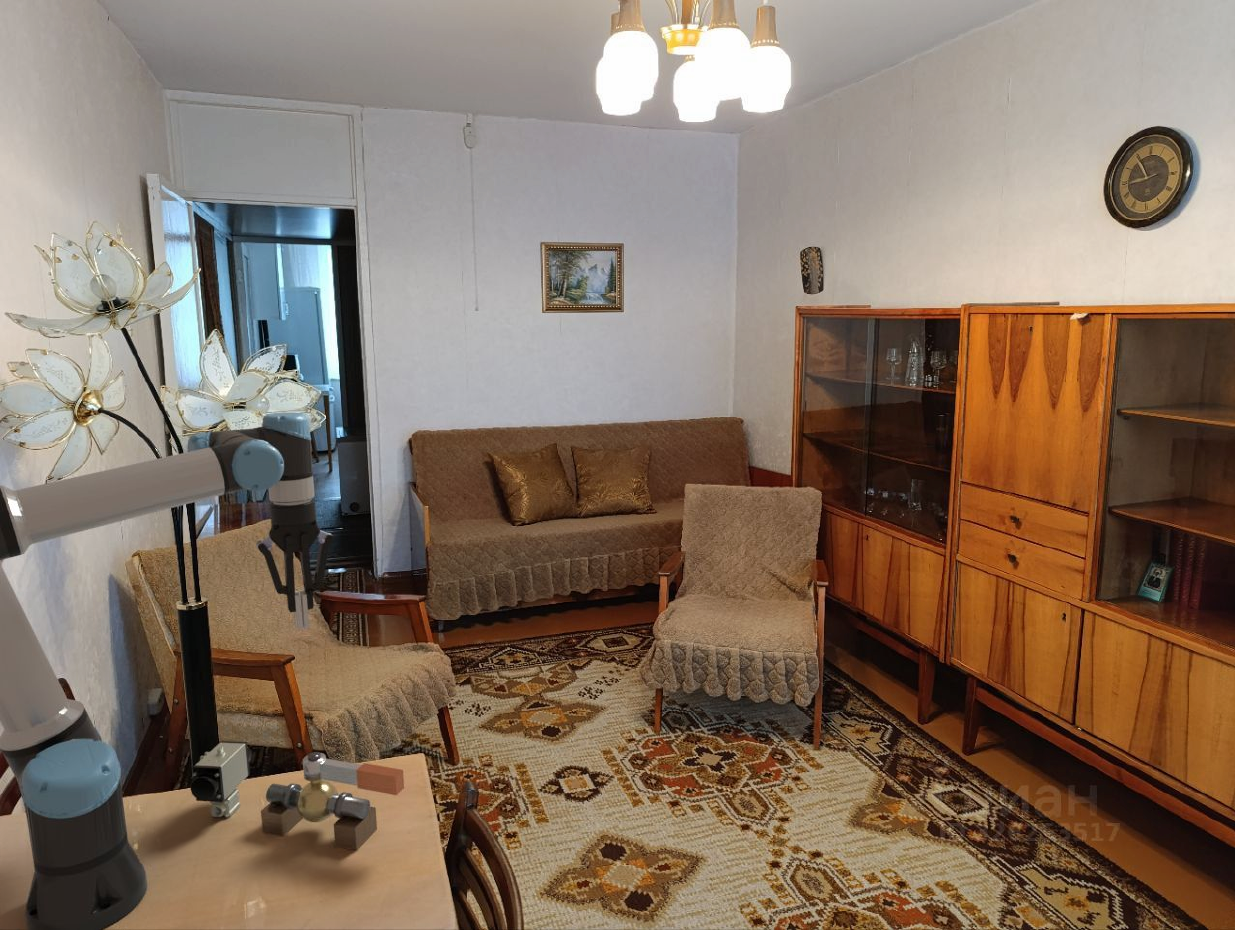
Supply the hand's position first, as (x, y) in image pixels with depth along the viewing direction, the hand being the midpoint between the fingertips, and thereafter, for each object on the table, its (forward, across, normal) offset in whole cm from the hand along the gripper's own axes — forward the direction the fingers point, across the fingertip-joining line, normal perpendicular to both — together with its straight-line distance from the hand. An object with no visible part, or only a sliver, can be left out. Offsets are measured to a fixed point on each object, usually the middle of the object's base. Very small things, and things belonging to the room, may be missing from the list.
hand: (302, 627), depth 154 cm
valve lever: (+19, -3, +24) cm, 31 cm away
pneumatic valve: (+30, +16, +4) cm, 34 cm away
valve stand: (+29, +2, +19) cm, 35 cm away
